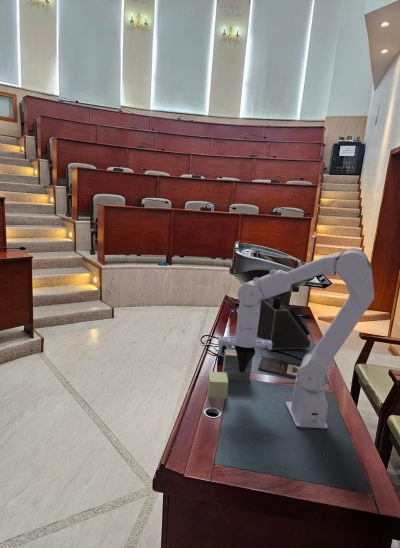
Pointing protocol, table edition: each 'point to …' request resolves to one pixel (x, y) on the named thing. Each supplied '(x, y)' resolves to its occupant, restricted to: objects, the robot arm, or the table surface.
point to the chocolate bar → (279, 367)
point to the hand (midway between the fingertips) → (241, 370)
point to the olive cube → (217, 385)
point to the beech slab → (235, 367)
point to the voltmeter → (281, 326)
